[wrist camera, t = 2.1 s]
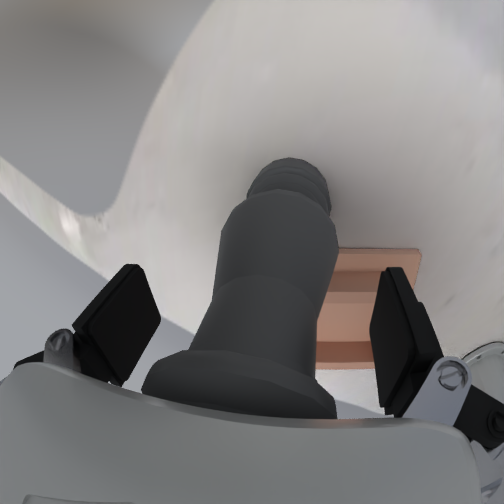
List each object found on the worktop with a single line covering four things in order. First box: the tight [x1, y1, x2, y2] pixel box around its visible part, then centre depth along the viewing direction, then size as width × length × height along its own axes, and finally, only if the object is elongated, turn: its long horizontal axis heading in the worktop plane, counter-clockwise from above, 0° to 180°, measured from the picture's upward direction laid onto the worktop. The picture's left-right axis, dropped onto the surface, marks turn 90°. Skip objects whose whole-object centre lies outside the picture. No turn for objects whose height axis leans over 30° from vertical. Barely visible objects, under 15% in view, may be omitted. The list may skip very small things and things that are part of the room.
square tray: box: [316, 248, 422, 369], centre depth 25 cm, size 14×14×4 cm
